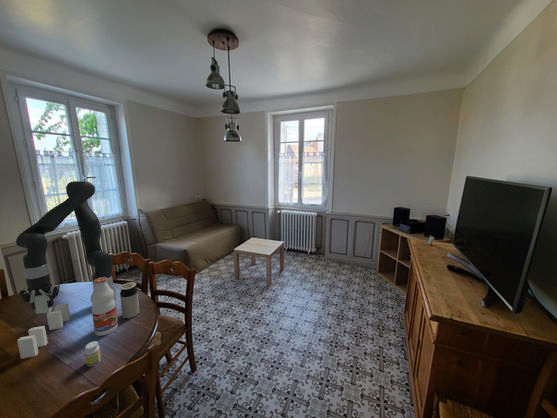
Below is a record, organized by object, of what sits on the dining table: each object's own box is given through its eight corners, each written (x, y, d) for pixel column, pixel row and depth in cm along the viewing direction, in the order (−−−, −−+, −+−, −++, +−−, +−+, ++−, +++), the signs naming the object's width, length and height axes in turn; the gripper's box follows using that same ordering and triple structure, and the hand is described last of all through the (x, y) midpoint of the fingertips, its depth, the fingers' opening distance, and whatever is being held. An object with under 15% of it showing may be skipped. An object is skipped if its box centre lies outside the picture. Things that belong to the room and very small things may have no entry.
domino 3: (34, 345, 100) (31, 327, 98) (47, 342, 101) (44, 325, 100) (31, 348, 98) (28, 330, 97) (45, 345, 100) (41, 328, 98)
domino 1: (24, 355, 94) (20, 337, 93) (38, 352, 96) (35, 335, 94) (21, 358, 93) (17, 340, 91) (35, 356, 94) (32, 337, 93)
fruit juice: (120, 321, 117) (114, 273, 112) (115, 333, 108) (109, 281, 104) (98, 326, 113) (91, 276, 108) (92, 338, 104) (84, 285, 100)
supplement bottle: (92, 357, 94) (90, 340, 93) (104, 356, 94) (101, 340, 93) (83, 367, 89) (81, 349, 88) (95, 366, 90) (93, 348, 88)
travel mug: (126, 321, 117) (123, 290, 114) (120, 315, 121) (116, 286, 118) (142, 313, 124) (139, 284, 121) (135, 308, 128) (132, 280, 125)
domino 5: (59, 320, 117) (56, 305, 115) (70, 318, 118) (67, 303, 117) (57, 322, 115) (54, 307, 113) (68, 320, 116) (65, 305, 115)
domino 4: (51, 327, 111) (49, 311, 110) (63, 325, 113) (61, 310, 111) (49, 330, 109) (46, 314, 108) (61, 328, 111) (58, 312, 109)
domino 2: (49, 312, 103) (46, 295, 102) (36, 314, 102) (33, 296, 100) (51, 309, 105) (48, 293, 103) (39, 311, 103) (36, 294, 102)
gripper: (10, 280, 94) (17, 315, 97) (51, 276, 99) (57, 309, 102) (23, 272, 101) (29, 305, 104) (62, 269, 106) (66, 300, 109)
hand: (43, 307), depth 103 cm, fingers closed on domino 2, 4 cm apart
